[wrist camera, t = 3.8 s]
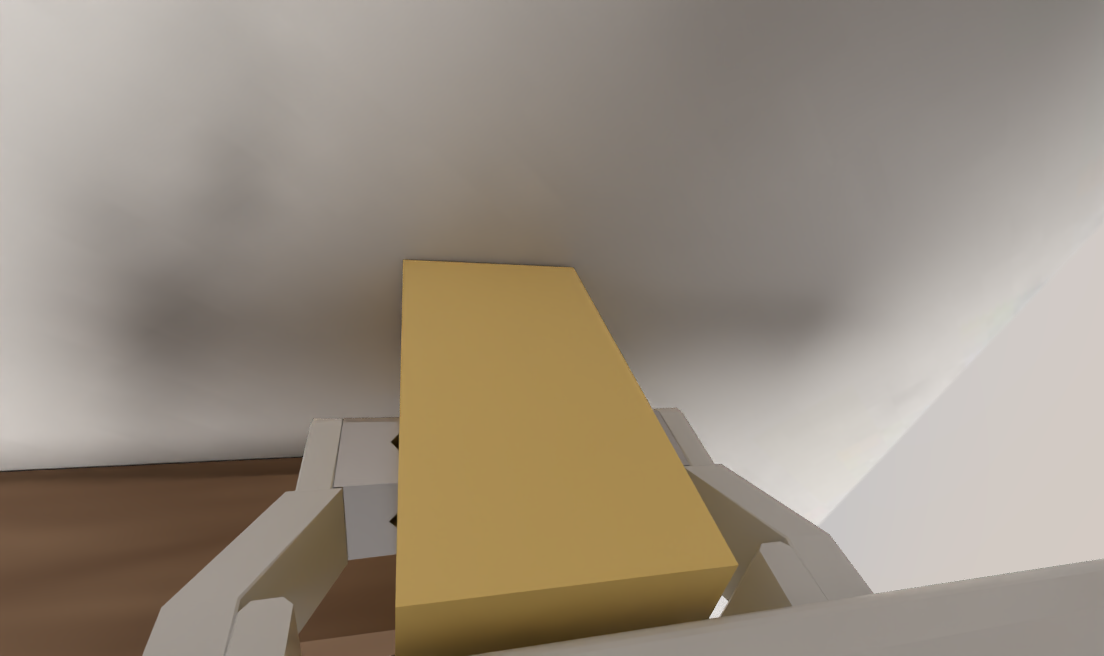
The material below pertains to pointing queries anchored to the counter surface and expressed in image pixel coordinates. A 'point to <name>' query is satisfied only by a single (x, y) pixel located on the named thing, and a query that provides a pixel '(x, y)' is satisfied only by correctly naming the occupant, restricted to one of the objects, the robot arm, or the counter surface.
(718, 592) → the plug
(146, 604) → the walled box
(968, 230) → the counter surface
